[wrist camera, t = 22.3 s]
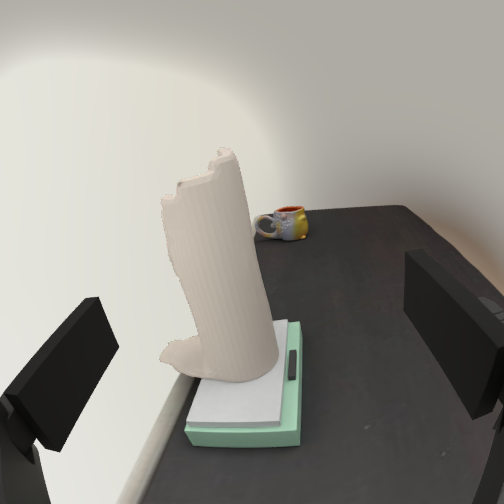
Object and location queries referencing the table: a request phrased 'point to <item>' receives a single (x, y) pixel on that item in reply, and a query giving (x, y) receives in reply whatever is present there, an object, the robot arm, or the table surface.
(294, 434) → the scale
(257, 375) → the candle
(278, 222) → the mug
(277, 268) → the table surface
